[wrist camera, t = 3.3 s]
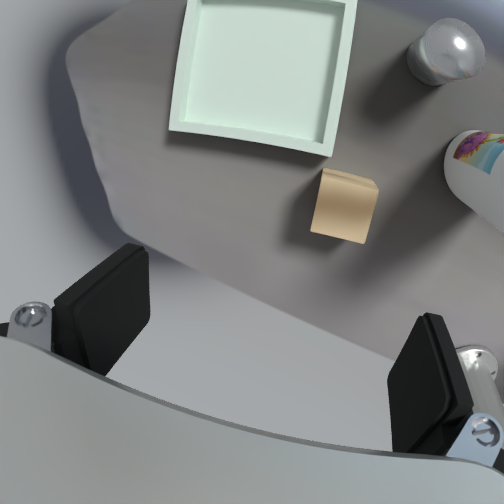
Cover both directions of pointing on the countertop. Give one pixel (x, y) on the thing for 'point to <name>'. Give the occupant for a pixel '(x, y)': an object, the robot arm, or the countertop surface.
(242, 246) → the countertop surface
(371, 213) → the oak block
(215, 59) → the sage tray
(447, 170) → the milk bottle
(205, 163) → the countertop surface
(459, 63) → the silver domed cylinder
